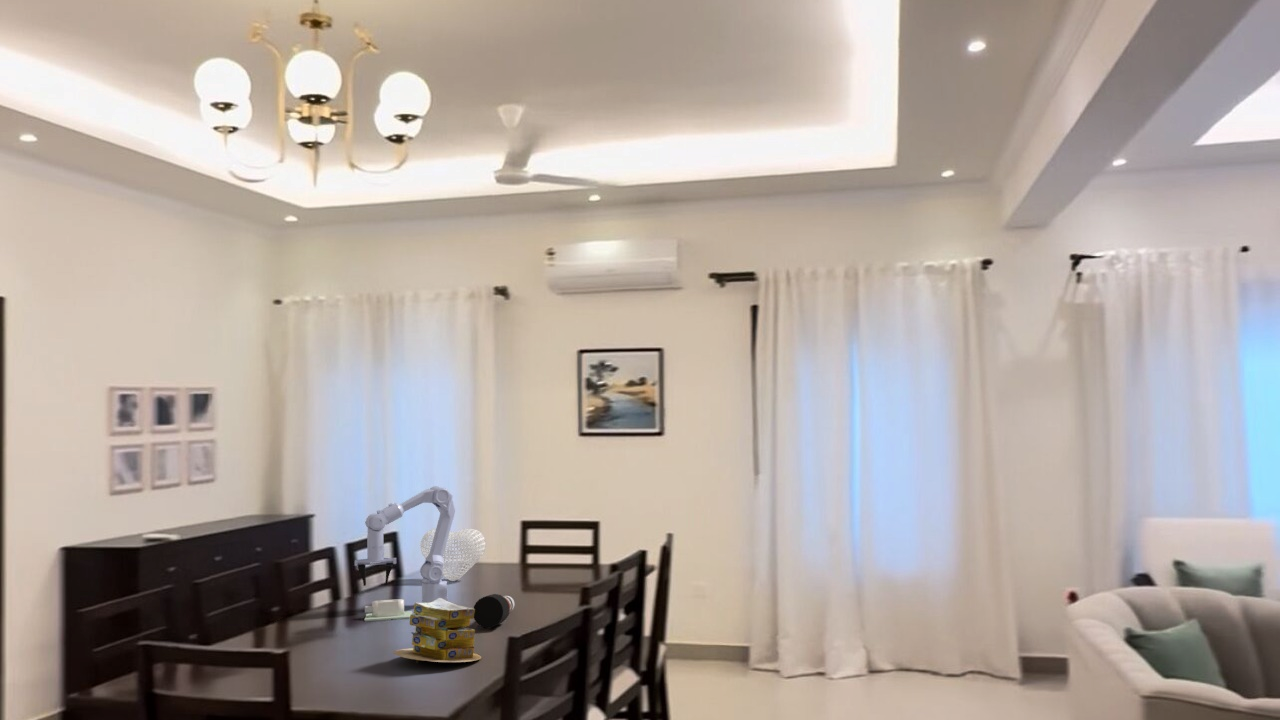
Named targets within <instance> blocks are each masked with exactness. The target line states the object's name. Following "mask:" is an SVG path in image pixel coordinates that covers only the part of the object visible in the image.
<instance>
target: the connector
mask: <svg viewBox="0 0 1280 720" xmlns="http://www.w3.org/2000/svg"><path fill="white" fill-rule="evenodd" d="M404 611H405V599H403V598H400V599H399V598H398V599H383V600H381V599H379V600H372V601H371V605H365V606H364V613H365V614H369V613H371V614H372V617H385V616H400V615H404Z"/></svg>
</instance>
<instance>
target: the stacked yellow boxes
mask: <svg viewBox="0 0 1280 720" xmlns="http://www.w3.org/2000/svg"><path fill="white" fill-rule="evenodd" d="M474 613H475V609H474V607H470V606H464V605H459V604H455V603H453V602H450V601H449V600H448V601H446V600H444V599H442V598H438V599H437V600H435V601H433V602H425V603H422V602H414V604H413V614H412V615H411V616H410V618H409V625H410V626H414V627H415V628H413V630H414V629H415V630H414V631H415V632H411V634H412V640H411V645H412V647H411V648H410V647H409V648H402V649H401V648H400V649H396V650H395V651H393V654H394V655H396V656H398V657H401V658H404V659H410V660H416V663H417V664H419V661H423V662H424V661H427V662H434V663H435V662H436V663H437V662H438V663H466V662H468V663H469V662H474V661H478V660H481V659H482V655H479V654H478V653H474V651H475V646H474V644H475V643H474V642H475V633H476V630H475V629H474V628H469V627H471V626H470V625H471V624H470V623H471V620H472V619H474Z"/></svg>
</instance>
